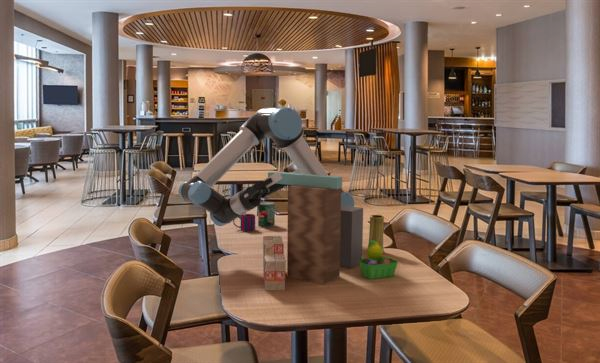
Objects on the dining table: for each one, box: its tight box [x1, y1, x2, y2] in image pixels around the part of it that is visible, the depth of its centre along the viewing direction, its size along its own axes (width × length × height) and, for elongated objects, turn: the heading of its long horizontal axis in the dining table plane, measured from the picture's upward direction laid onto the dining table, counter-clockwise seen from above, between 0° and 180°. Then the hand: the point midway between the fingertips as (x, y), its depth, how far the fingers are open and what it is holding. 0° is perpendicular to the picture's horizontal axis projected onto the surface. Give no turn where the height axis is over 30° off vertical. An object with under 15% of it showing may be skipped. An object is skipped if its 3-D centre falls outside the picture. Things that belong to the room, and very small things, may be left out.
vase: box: [368, 214, 385, 254], centre depth 207 cm, size 6×6×14 cm
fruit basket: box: [359, 240, 399, 280], centre depth 178 cm, size 11×9×11 cm
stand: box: [286, 185, 341, 285], centre depth 174 cm, size 14×10×30 cm
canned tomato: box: [257, 201, 276, 228], centre depth 255 cm, size 8×8×11 cm
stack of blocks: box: [262, 235, 287, 291], centre depth 172 cm, size 21×6×12 cm, turn 5°
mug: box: [232, 213, 256, 232], centre depth 246 cm, size 7×10×7 cm
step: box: [340, 205, 364, 269], centre depth 191 cm, size 12×9×20 cm
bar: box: [267, 171, 343, 189], centre depth 174 cm, size 26×4×4 cm, turn 58°
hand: (291, 173), depth 176 cm, fingers open, 12 cm apart
